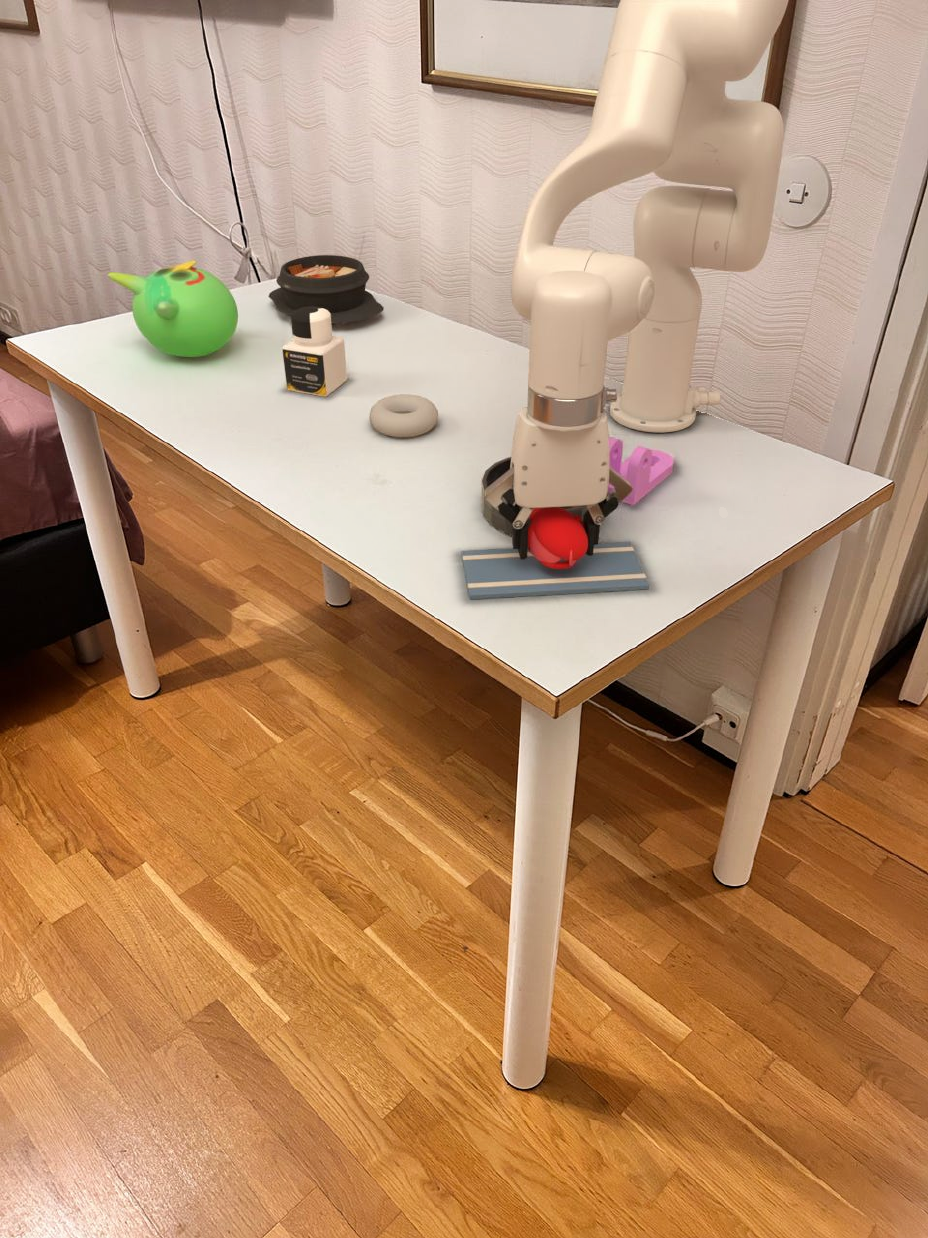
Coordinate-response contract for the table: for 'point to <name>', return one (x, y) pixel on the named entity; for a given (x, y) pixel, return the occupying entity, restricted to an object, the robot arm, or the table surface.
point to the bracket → (639, 468)
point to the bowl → (509, 498)
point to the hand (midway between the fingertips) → (554, 549)
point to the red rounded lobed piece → (556, 537)
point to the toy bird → (182, 309)
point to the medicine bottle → (314, 354)
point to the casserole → (326, 288)
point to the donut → (403, 415)
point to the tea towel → (551, 573)
